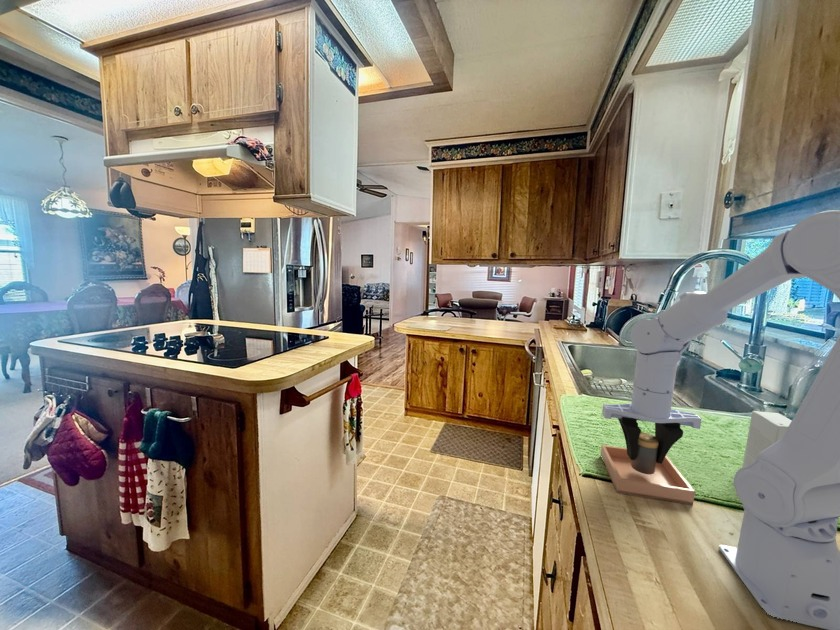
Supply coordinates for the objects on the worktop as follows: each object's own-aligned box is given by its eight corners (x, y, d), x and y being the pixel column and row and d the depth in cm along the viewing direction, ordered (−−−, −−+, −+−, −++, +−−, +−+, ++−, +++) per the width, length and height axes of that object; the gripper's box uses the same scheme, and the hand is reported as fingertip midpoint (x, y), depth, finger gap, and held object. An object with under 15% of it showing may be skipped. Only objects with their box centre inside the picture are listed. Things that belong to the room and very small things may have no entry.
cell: (658, 475, 58) (662, 444, 57) (634, 472, 59) (638, 441, 58) (650, 463, 61) (653, 433, 60) (628, 460, 62) (631, 431, 61)
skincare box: (795, 494, 56) (809, 428, 54) (766, 490, 57) (778, 426, 55) (766, 471, 62) (778, 412, 60) (740, 469, 63) (750, 410, 61)
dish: (692, 505, 54) (695, 491, 53) (617, 492, 57) (618, 479, 56) (663, 464, 64) (664, 453, 64) (600, 456, 67) (601, 445, 67)
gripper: (690, 382, 59) (680, 452, 62) (600, 375, 63) (594, 441, 65) (712, 398, 53) (700, 475, 55) (611, 389, 56) (604, 462, 59)
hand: (644, 458), depth 60 cm, fingers closed on cell, 4 cm apart
